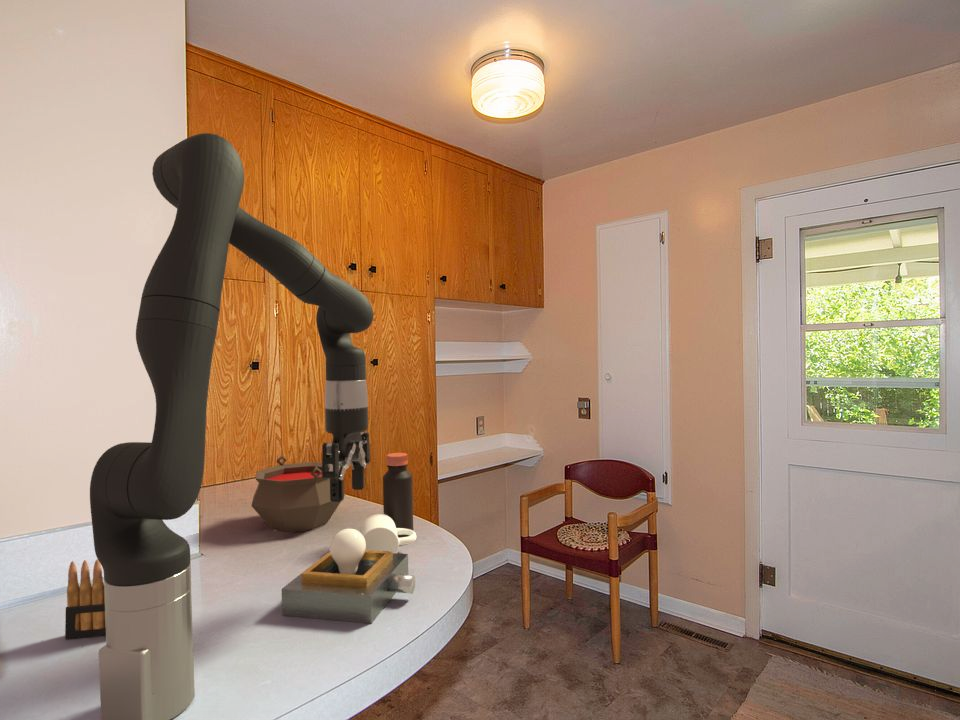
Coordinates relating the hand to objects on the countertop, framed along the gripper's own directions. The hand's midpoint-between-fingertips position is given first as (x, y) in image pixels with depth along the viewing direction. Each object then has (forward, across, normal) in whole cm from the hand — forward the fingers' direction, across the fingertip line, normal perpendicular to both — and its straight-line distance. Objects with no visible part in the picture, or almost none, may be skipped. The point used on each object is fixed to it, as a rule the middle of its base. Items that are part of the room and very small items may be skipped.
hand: (348, 495), depth 97 cm
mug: (+18, +19, 0) cm, 27 cm away
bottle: (+18, +28, +1) cm, 34 cm away
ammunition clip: (+19, -19, +33) cm, 42 cm away
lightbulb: (+17, 0, 0) cm, 17 cm away
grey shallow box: (+18, 0, -2) cm, 18 cm away
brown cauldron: (+18, +36, +31) cm, 51 cm away
